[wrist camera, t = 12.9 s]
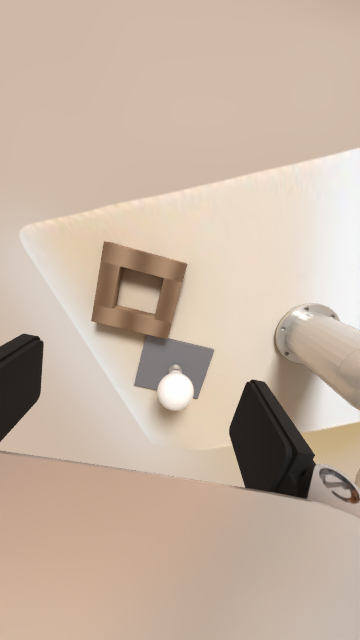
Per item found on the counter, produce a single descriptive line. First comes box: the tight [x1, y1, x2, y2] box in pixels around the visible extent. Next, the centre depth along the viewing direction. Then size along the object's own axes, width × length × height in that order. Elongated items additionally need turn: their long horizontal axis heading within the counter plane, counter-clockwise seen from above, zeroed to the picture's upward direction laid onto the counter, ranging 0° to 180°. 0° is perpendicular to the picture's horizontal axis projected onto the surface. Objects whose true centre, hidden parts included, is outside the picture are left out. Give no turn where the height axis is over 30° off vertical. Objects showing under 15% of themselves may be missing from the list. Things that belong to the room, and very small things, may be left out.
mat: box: [134, 334, 214, 399], centre depth 47 cm, size 14×12×1 cm
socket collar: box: [91, 242, 187, 339], centre depth 40 cm, size 14×14×3 cm
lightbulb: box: [157, 364, 194, 411], centre depth 41 cm, size 6×6×11 cm
